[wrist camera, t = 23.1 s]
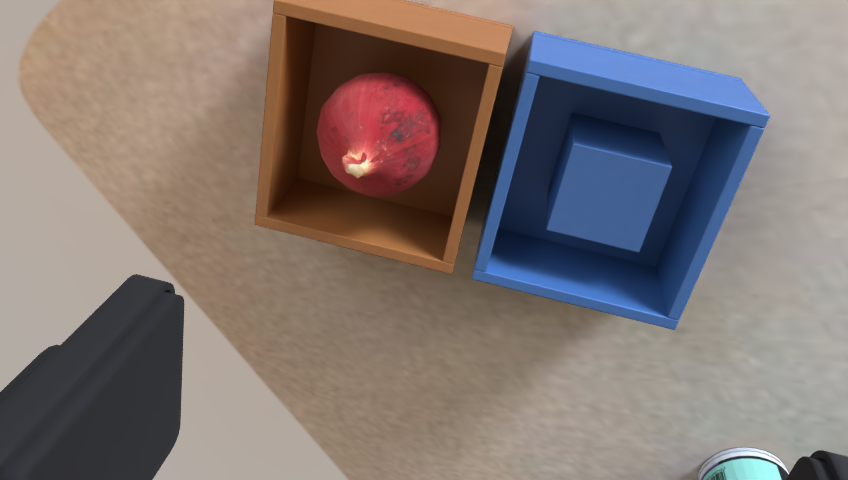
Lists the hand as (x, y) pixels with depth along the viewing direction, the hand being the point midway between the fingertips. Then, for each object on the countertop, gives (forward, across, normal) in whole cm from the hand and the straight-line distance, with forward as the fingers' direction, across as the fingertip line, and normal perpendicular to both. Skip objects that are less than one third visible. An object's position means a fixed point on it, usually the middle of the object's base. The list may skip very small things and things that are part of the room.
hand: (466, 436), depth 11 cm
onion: (+28, +6, +5) cm, 29 cm away
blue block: (+28, -5, +6) cm, 29 cm away
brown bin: (+28, +6, +6) cm, 29 cm away
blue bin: (+28, -5, +6) cm, 29 cm away
